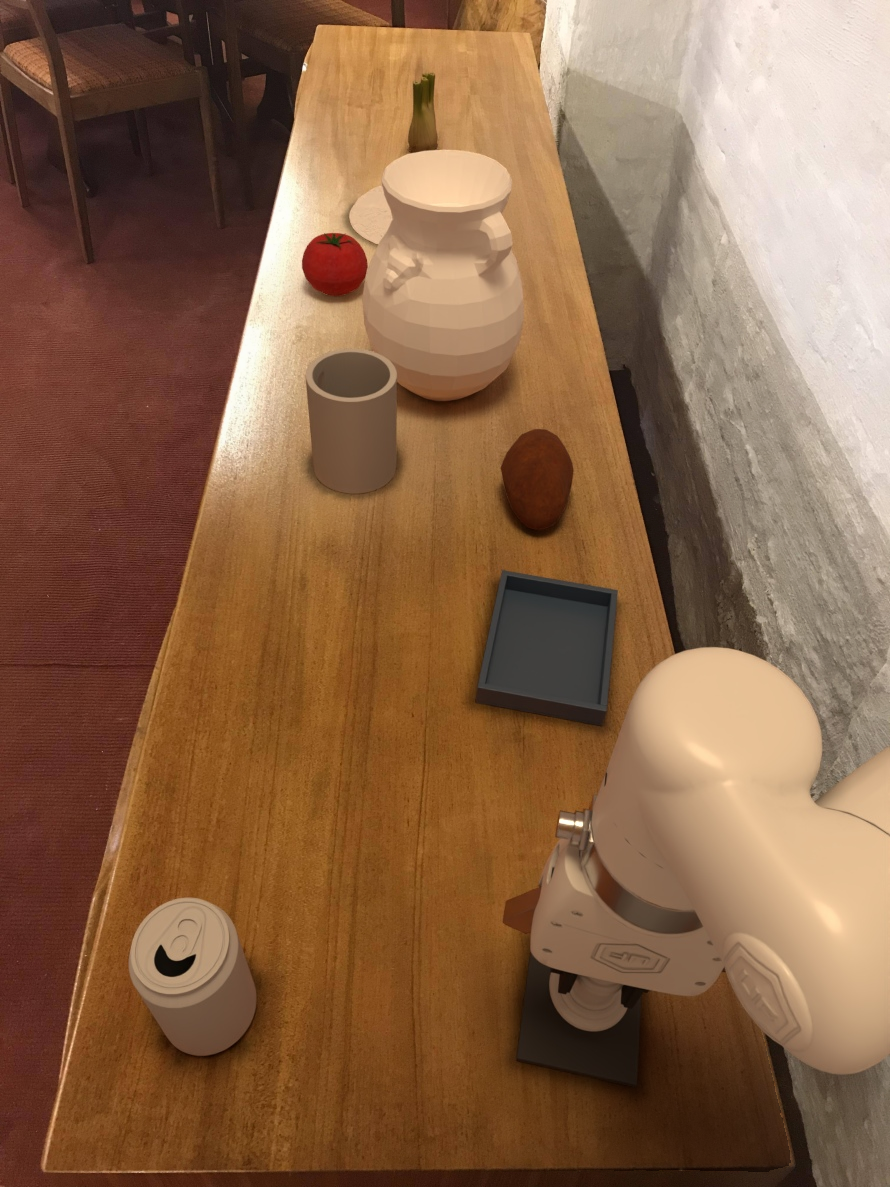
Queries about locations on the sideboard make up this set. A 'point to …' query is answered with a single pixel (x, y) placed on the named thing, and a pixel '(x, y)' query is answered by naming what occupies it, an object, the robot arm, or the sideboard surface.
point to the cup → (353, 419)
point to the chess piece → (589, 1002)
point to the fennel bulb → (423, 116)
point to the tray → (549, 648)
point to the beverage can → (193, 975)
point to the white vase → (445, 275)
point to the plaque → (371, 215)
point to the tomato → (334, 264)
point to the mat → (575, 1036)
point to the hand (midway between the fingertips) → (596, 975)
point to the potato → (537, 478)
